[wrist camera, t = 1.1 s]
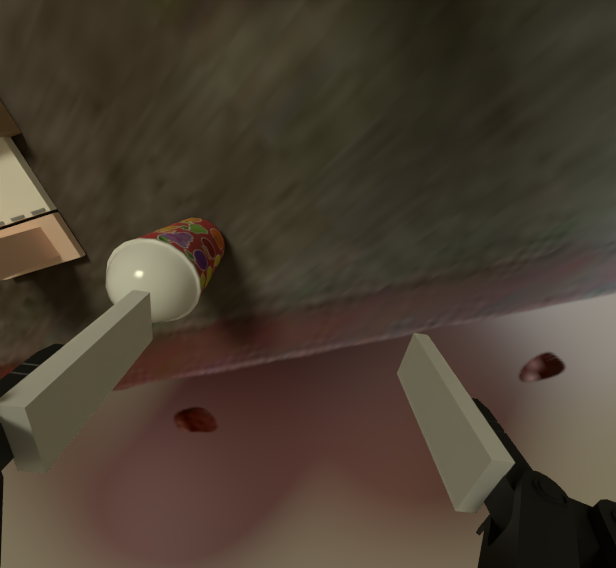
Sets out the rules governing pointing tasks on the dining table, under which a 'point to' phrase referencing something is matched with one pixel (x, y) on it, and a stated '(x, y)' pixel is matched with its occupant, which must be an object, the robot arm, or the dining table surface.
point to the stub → (36, 246)
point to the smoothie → (167, 267)
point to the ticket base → (17, 179)
